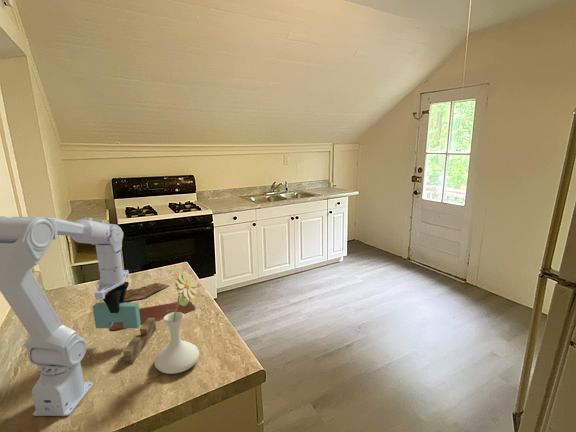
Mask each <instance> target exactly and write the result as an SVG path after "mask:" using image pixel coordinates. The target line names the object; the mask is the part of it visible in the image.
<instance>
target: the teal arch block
mask: <svg viewBox="0 0 576 432" xmlns="http://www.w3.org/2000/svg"><path fill="white" fill-rule="evenodd" d="M139 309H140V305H139V302H124V303H119V312H118V313H110V311H109V309H108V307H107V305H106V303H103V302H95V303H94V304H93V305H92V312H93V318H94V319H93V320H94V324H95V329H110V328H111V327H112V325H113V322H123V325H124V329H139V328H140V326H141V321H140V313H139Z"/></svg>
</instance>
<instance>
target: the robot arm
mask: <svg viewBox="0 0 576 432" xmlns="http://www.w3.org/2000/svg"><path fill="white" fill-rule="evenodd" d="M93 219H94V218H93V217H83V218H81V219H78V220H76V221H75V222H72V221H71V220H70V221H69V220H65V219H61V218H60V219H59V218H56V217H48V216H47V217H46V216H12V217H8V216H3V215H0V293H1V294H2V296H3V297H4V299H5V301H6V302H7V303H8V305H9V307H10V308H11V309H12V311H13V313H14V314H15V315H16V317H17V319H18V321H19V322H20V323H21V324H22V326H23V327H24V329H25V330H26V332H27V333H28V335H29V337H28V338H27V340H26V342H25V343H24V346H25V348H26V350H27V359H28V361H29V363H31V364H33V365H36V366H37V369H38V370H40V375H39V377H38V380H37V382H36V383H35V384H34V385H33V387H32V389H31V396H32V399H33V405H34V408H35V410H34V412H32V415H33V416H34V417H35V416H36V417H43V416H44V417H45V416H49V417H50V416H51V417H68V416H70V415H71V414H72V413H73V411H74V410H75V409H76V407H77V406H78V405H79V403H80V402H81V401H82V400H83V399H84V397H85V396H86V394H87V393H88V392H89V391H90V389H91V388H92V387H93V386H94V382H93V381H85V380H84V374H83V369H82V365H81V364H82V363H81V362H82V360H83V359H84V357H85V355H86V352H87V349H88V348H87V347H88V346H87V341H86V339H85V338H84V337H83V336H80V335H79V334H78V332H77V331H76V330H74V329H73V328H70V327H68V326H66V325H64V324H63V323H62V321H61V320H60V319H59V316H58V315H57V313H56V311H55V309H54V308H53V306H52V304H51V303H50V301H49V299H48V298H47V296H46V294H45V292H44V290H43V288H42V287H41V285H40V284H39V281H38V279H37V278H36V276H35V274H34V273H33V271H32V268H34V267H36V266H37V265H39V262H40V261H41V260H42V258H43V257H44V255H45V253H46V252H47V250H48V249H49V247H50V245H51V244H52V242H53V241H54V240H56V239H57V238H58V236H66V237H70V238H71V239H72V240H73V241H74V242H76V243H79V244H82V243H83V244H90V245H93V246H94V245H95V250H96V256H97V263H98V271H99V277H100V279H99V280H98V281H97V282H96V283H97V285H98V287H97V290H96V291H95V292H94V296H95V300H102V301H103V302H105V303H106V305H107V307H108V309H109V311H110V313H118V312H119V303H125V301H124V299H125V293H126V290H128V287H129V286H130V285H129V282H128V281H126V279H127V278H129V277H130V271H129V270H128V269H124V267H123V259H122V251H121V250H122V247H123V239H124V231H123V230H122V228H121V227H120V226H119V225H118V224H114V223H106V221H103V220H98V221H94V220H93Z"/></svg>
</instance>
